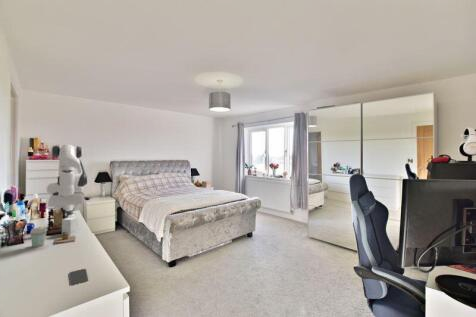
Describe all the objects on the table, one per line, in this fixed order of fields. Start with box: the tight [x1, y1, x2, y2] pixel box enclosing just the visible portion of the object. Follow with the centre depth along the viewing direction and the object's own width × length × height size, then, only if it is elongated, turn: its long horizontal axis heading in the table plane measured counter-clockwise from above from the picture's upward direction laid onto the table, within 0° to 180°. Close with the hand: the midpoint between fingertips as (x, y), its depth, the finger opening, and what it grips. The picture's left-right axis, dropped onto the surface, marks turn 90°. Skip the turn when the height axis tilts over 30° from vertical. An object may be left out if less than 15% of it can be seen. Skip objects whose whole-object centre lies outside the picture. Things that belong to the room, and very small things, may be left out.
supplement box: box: [61, 217, 79, 237], centre depth 175 cm, size 7×7×13 cm
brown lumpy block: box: [46, 208, 66, 236], centre depth 178 cm, size 15×15×20 cm
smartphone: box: [68, 268, 89, 286], centre depth 110 cm, size 7×1×15 cm
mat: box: [53, 235, 76, 246], centre depth 160 cm, size 14×12×1 cm
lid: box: [53, 231, 76, 245], centre depth 160 cm, size 11×11×6 cm
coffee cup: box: [29, 226, 48, 249], centre depth 149 cm, size 8×9×12 cm
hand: (66, 211), depth 161 cm, fingers open, 8 cm apart
